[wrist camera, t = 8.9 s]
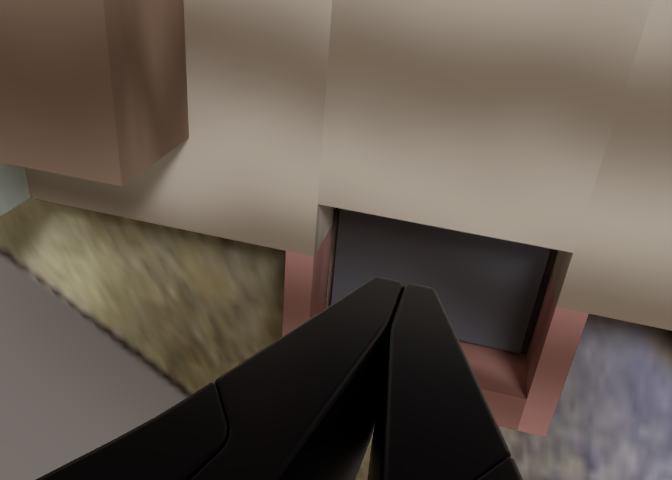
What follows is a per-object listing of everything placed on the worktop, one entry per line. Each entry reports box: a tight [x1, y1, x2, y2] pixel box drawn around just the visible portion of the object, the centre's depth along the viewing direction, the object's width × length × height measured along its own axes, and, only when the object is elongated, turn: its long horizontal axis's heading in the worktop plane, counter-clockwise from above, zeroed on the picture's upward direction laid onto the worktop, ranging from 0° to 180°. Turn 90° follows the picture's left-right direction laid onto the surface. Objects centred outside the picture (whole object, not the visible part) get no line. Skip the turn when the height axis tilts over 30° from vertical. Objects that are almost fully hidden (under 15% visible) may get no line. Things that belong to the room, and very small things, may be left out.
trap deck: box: [0, 0, 672, 437], centre depth 17 cm, size 23×34×6 cm
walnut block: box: [0, 0, 189, 186], centre depth 18 cm, size 5×5×4 cm
